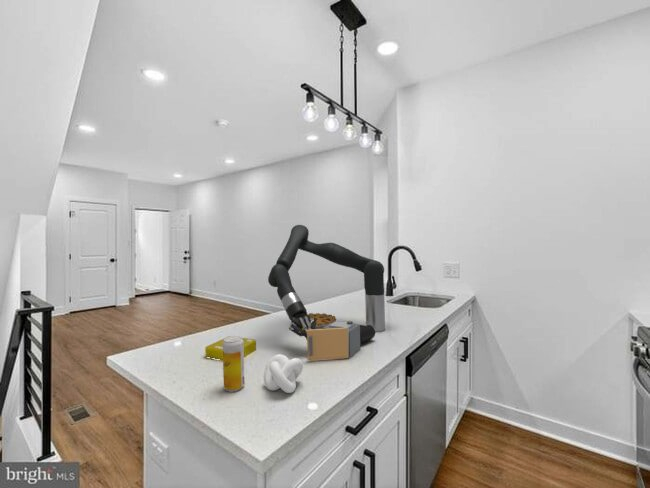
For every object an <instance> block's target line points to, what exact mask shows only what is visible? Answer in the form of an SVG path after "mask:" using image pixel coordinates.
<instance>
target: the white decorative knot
mask: <svg viewBox="0 0 650 488" xmlns="http://www.w3.org/2000/svg"><path fill="white" fill-rule="evenodd" d="M303 369H304V364H303V361H302V360H301V359H300V358H298V357H294V358H291V359H289V358H288V357H287V356H286V355H284V354H276V355H273V356H272V357H271V358H270V359H269V360H268V362H267V364H266V366H265V368H264V373H263V382H264V385H265V387H266V389H268V390H269V391H273V392H274V391H277V390H279V389H281V390H282V392H284V393H287V394H292V393H294V392H295V391H296V389H297V379H298V377H300V376H301V374H302V371H303Z"/></svg>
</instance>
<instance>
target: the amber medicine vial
mask: <svg viewBox="0 0 650 488" xmlns="http://www.w3.org/2000/svg"><path fill="white" fill-rule="evenodd" d="M226 337H227V338H226ZM226 337H224V338H225V339H224V338H223V339H224V341H223V361H222V367H223V369H222V372H223V373H222V374H223V376H222V378H223V389H225V391H226V390H227V391H226V392H228V391H229V392H230V393H233V392H234V393H235V392H239V391H241V390H242V389H243V388H244V386H245V385H246V384H245V381H246V380H245V357H244V345H243V340H242V338H243V337H242V336H239V335H234V336H231V337H229V336H226ZM240 389H241V390H240ZM238 390H239V391H238Z"/></svg>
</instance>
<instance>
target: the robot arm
mask: <svg viewBox="0 0 650 488" xmlns="http://www.w3.org/2000/svg"><path fill="white" fill-rule="evenodd" d="M309 232H310V231H309V229H308V227H307V226H306V225H303V224H295V225H294V226H293V227H292V228H291V229H290V234H289V238H288V240H287V242H286V244H285V246H284V248H283V250H282V252H281V253H280V255H279V257H278V258H277V260H276V262H275V264H274V265H273V266H272V267H271V270H270V272H269V274H268V277H267V282H268V284H269V285H270V286H271V287H273V288H277V289H276V292H277V296H278V297H279V298H278V299H280V301H281V305H282V307H283V308H284V311H285V313H286V315H287V316H288V319H289V320H290V323H291V324H290V325H289V327H288V329H289V331H291V332H293V333H294V334H296V335H297V336H298V337H304V338H305V339H306V340H307V330H312V329H315V328H316V318H314V319H312V318H310V316H309V315H308V312H307V309H306V307H305V305H304V303H303V301H302V299H301V298H300V296H299V295H298V293H297V292H296V289H295V288H294V287H293V284H292V280H291V276H290V273H289V271H290V269H291V268H292V266H293V264H294V262H295V260H296V257H297V254H298V251H299V250H301V251H304V252H307V253H310V254H313V255H316V256H318V257H320V258H322V259H325V260H327V261H329V262H331V263H332V264H333V263H334V264H336V265H338V266H342V267H346V268H349V269H350V268H351V269H354V270H357V271H359V272H361V273H362V274H363V283H364V284H363V285H364V286H363V287H364V294H365V295H364V297H365V298H364V299H365V300H364V301H365V326H367V325H371V326H372V327H373V328H374V330H375V333H378V332H384V331H385V330H386V315H385V314H386V313H385V312H386V309H385V307H386V305H385V282H384V281H385V280H384V273H385V266H384V265H383V263H381V261H379V260H374V259H371V258H368V257H365V256H363V255H359V254H358V253H356V252H354V251H353V250H350V249H349V248H347V247H344V246H342V245H340V244H338V243H335V242H325V243H324V242H323V243H316V242H312V241H310V240H308V239H309V235H310V234H309ZM310 324H311V325H310Z"/></svg>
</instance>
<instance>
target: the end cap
mask: <svg viewBox="0 0 650 488" xmlns="http://www.w3.org/2000/svg"><path fill="white" fill-rule="evenodd" d="M374 337H376V332H375V330H374V328H373V327H372V326H371V325H367V326H366V325H363V324H360V345H361V344H364V343H366V342H367V343H368V341H371V340H372V339H374Z"/></svg>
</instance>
